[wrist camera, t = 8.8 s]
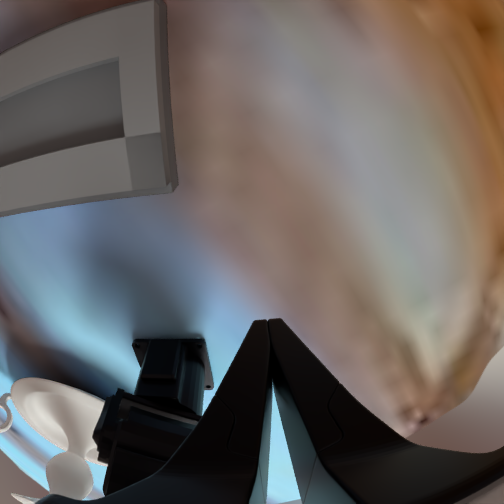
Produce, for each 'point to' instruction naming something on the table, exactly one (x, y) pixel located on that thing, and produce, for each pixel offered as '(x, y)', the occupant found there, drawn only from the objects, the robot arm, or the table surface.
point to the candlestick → (59, 431)
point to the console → (87, 111)
